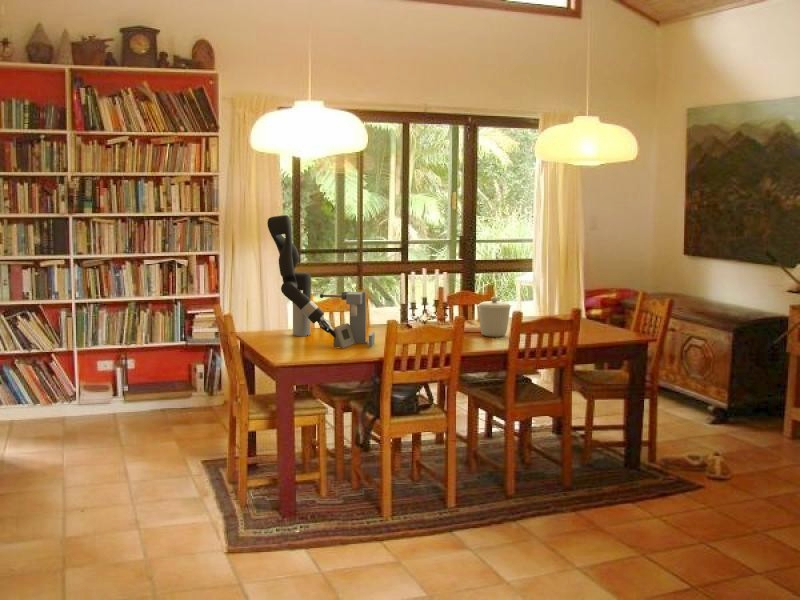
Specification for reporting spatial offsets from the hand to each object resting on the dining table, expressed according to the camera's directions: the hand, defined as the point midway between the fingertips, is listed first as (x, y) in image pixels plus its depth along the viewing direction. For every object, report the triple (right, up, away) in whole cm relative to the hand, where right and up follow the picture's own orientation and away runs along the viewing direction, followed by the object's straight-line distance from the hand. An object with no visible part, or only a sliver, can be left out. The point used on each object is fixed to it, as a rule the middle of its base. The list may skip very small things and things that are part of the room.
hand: (336, 336), depth 430 cm
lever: (-2, +19, +4) cm, 20 cm away
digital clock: (+4, -5, -2) cm, 7 cm away
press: (+10, -4, +2) cm, 11 cm away
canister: (+82, -1, +34) cm, 88 cm away
